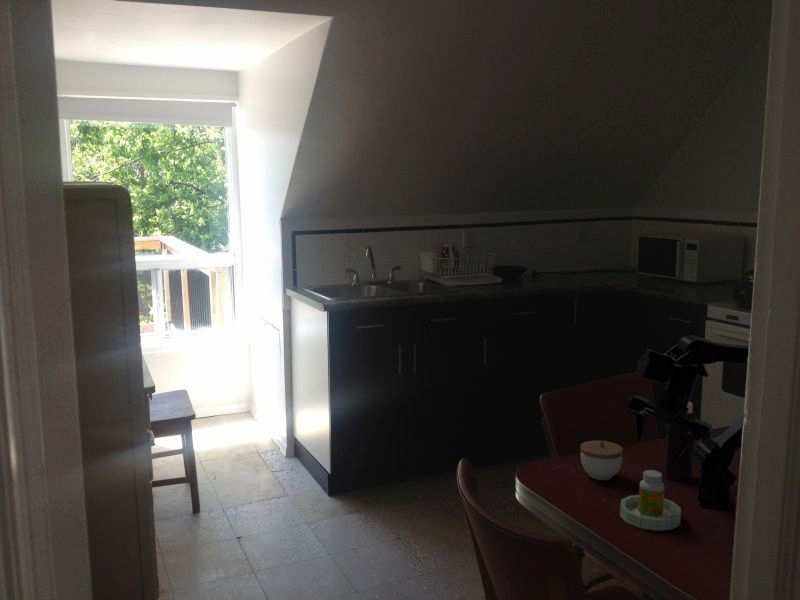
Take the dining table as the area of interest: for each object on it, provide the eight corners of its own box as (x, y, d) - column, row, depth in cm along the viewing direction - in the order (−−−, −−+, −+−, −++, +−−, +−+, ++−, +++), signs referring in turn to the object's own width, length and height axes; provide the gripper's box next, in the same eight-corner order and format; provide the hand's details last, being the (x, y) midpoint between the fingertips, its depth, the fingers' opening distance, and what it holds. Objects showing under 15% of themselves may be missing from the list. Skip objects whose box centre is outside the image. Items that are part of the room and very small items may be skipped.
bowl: (680, 509, 173) (680, 499, 173) (680, 534, 161) (680, 523, 161) (622, 501, 178) (622, 491, 177) (618, 524, 166) (618, 514, 165)
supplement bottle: (636, 516, 168) (638, 475, 167) (639, 506, 173) (641, 467, 172) (661, 520, 166) (664, 479, 165) (663, 510, 171) (666, 470, 169)
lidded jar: (623, 485, 187) (625, 450, 186) (580, 482, 189) (581, 447, 188) (620, 469, 198) (621, 435, 196) (578, 466, 200) (580, 433, 198)
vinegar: (664, 480, 190) (668, 405, 187) (664, 470, 197) (668, 397, 194) (692, 483, 188) (697, 407, 185) (691, 473, 195) (696, 400, 191)
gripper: (631, 375, 170) (609, 438, 173) (713, 407, 161) (689, 473, 163) (644, 373, 180) (623, 432, 182) (722, 403, 170) (699, 465, 172)
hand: (657, 450), depth 175 cm, fingers open, 9 cm apart
